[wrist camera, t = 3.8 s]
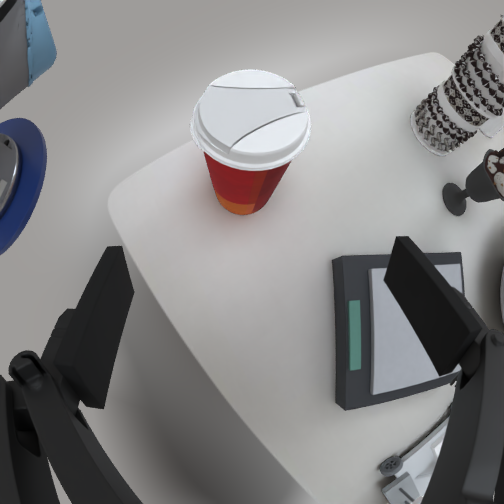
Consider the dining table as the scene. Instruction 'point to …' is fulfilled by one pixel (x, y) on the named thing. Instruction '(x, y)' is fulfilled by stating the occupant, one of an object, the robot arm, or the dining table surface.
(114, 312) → the robot arm
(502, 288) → the white bowl
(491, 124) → the pepper shaker
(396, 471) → the toy car
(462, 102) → the decorative candle
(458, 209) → the sundae
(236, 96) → the coffee cup
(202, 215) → the dining table surface
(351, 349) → the scale
